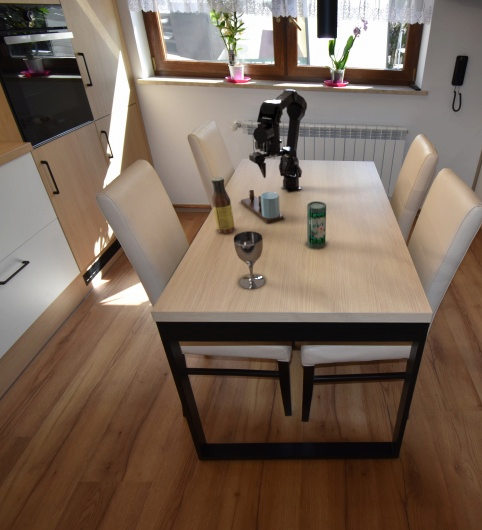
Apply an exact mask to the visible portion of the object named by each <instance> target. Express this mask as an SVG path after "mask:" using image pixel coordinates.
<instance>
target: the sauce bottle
mask: <svg viewBox="0 0 482 530" xmlns="http://www.w3.org/2000/svg"><path fill="white" fill-rule="evenodd" d="M211 184H212V186H213V187H212V188H213V195H212V197H211V200H212V207H213V213H214V219H215V224H216V228H217V231H218V232H219V233H220V234H231V233H232V232H234V231H235V221H234V213H233V208H232V201H231V198H230V196H229V194H228V191H227V189H226V188H225V179H224V177H222V176H215V177H214V176H213V177H212V178H211Z"/></svg>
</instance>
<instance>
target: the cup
mask: <svg viewBox="0 0 482 530" xmlns="http://www.w3.org/2000/svg"><path fill="white" fill-rule="evenodd" d="M260 196H261V210H262V216H263V217H265V218H276V217H278V216H279V215H280V214H281V209H280V195H279V193H278V192H274V191H268V192H263V193H261V194H260Z"/></svg>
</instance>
